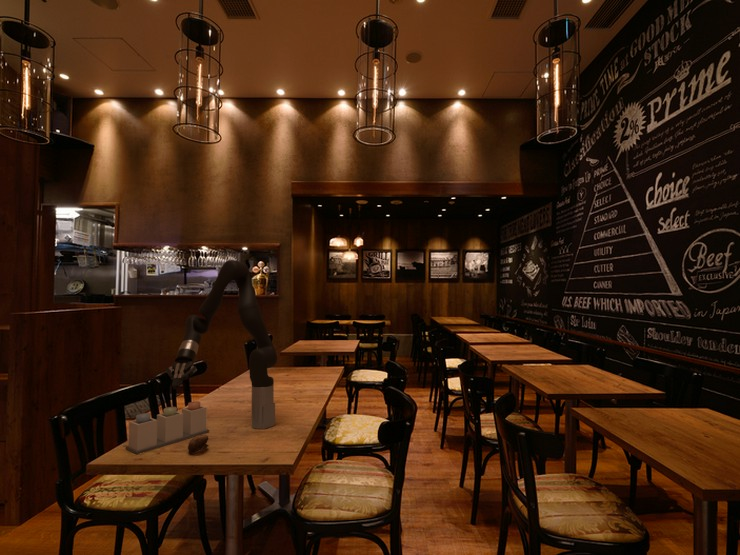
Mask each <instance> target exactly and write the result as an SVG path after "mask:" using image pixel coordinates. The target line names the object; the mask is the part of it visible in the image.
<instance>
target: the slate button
mask: <svg viewBox="0 0 740 555" xmlns="http://www.w3.org/2000/svg"><path fill="white" fill-rule="evenodd" d="M150 418H151V413H150V412H142V413H138V414H136V415H135V420H136V423H137V424H141V423H145V422H149V421H150Z"/></svg>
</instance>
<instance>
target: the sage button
mask: <svg viewBox="0 0 740 555" xmlns="http://www.w3.org/2000/svg"><path fill="white" fill-rule="evenodd" d="M177 412H178V408H177V407H176V406H168V407H165V408H163V412H162V414H163V416H165V417H169V416H173V415H177Z"/></svg>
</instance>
